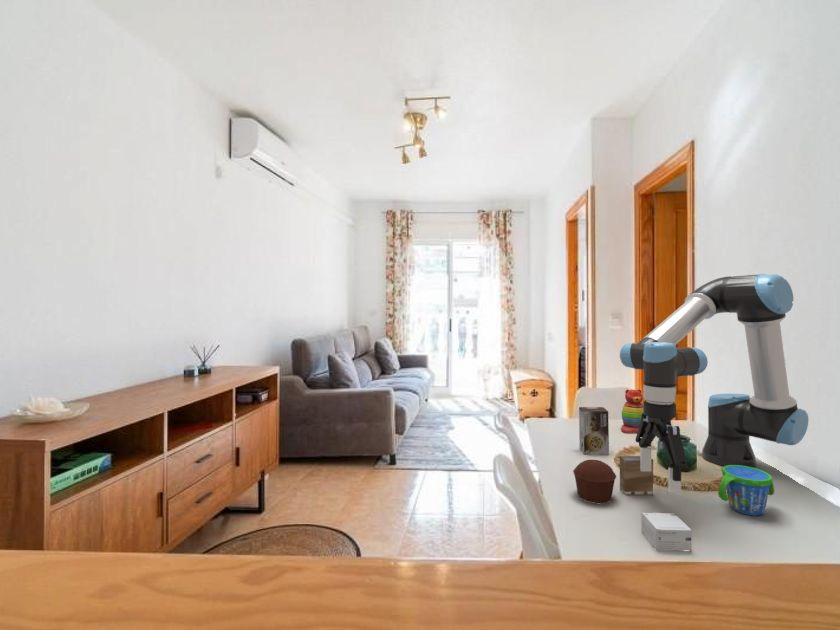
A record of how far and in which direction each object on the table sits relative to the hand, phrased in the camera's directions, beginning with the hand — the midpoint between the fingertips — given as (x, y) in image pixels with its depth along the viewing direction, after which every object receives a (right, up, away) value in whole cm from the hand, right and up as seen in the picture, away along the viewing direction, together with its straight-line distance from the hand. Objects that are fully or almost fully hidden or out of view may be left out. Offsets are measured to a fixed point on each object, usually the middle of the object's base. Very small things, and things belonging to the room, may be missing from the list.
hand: (659, 481), depth 113 cm
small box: (-6, -9, -14) cm, 18 cm away
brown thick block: (0, -8, +12) cm, 14 cm away
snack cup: (+23, -8, +1) cm, 25 cm away
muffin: (-13, -8, +9) cm, 18 cm away
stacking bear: (+29, -6, +71) cm, 77 cm away
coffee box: (+1, -7, +46) cm, 46 cm away
